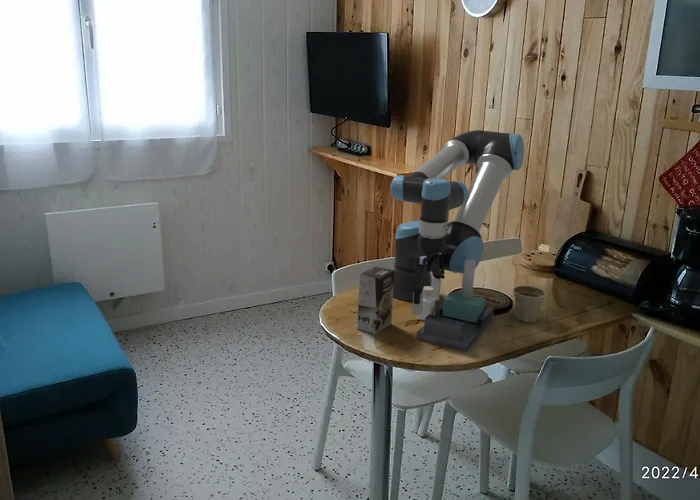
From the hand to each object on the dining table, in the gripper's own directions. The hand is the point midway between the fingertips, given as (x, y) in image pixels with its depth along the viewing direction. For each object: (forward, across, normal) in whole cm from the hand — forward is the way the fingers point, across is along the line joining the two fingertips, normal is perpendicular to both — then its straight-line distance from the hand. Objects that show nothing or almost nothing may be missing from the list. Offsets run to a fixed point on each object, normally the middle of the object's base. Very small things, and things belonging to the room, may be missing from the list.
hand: (425, 306), depth 175 cm
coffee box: (+4, -13, +10) cm, 17 cm away
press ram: (+2, +4, -10) cm, 11 cm away
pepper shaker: (+4, 0, 0) cm, 4 cm away
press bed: (+4, -2, -10) cm, 11 cm away
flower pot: (+4, +17, -25) cm, 31 cm away
